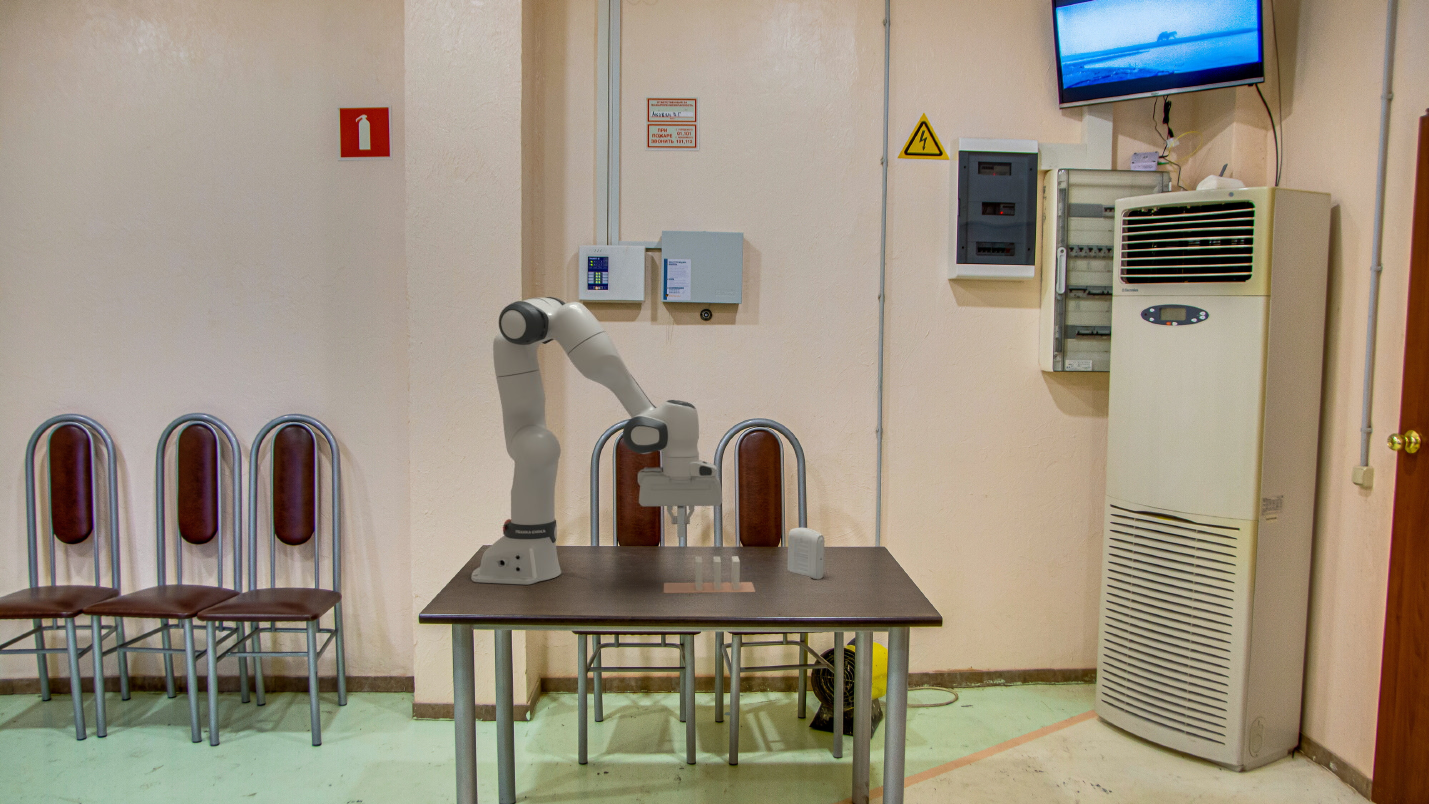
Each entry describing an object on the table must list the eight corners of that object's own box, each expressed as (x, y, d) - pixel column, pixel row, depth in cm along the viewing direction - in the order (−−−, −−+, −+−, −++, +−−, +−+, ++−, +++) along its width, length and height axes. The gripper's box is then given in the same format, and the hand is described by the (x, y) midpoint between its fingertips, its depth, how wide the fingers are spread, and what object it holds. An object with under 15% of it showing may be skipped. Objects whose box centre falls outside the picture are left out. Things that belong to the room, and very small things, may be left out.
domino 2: (695, 590, 189) (695, 562, 189) (695, 584, 194) (695, 556, 194) (702, 590, 189) (702, 562, 189) (701, 584, 194) (701, 556, 194)
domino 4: (732, 590, 190) (733, 561, 189) (731, 584, 195) (731, 556, 194) (739, 590, 190) (739, 561, 189) (737, 584, 195) (737, 556, 194)
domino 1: (677, 537, 188) (677, 508, 188) (677, 531, 193) (677, 503, 193) (684, 537, 188) (684, 508, 188) (683, 531, 193) (683, 503, 193)
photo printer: (826, 577, 203) (827, 530, 203) (816, 580, 200) (817, 532, 200) (794, 569, 210) (795, 524, 210) (784, 572, 207) (785, 526, 207)
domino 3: (714, 590, 189) (714, 561, 189) (713, 584, 194) (713, 556, 194) (721, 590, 190) (721, 561, 189) (719, 584, 194) (719, 556, 194)
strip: (663, 595, 187) (663, 592, 187) (663, 585, 195) (664, 583, 195) (755, 594, 189) (755, 591, 189) (751, 584, 197) (751, 582, 196)
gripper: (637, 469, 186) (637, 527, 187) (723, 469, 187) (722, 526, 188) (638, 465, 192) (638, 521, 193) (721, 465, 193) (721, 520, 194)
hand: (680, 523), depth 190 cm, fingers closed on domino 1, 2 cm apart
